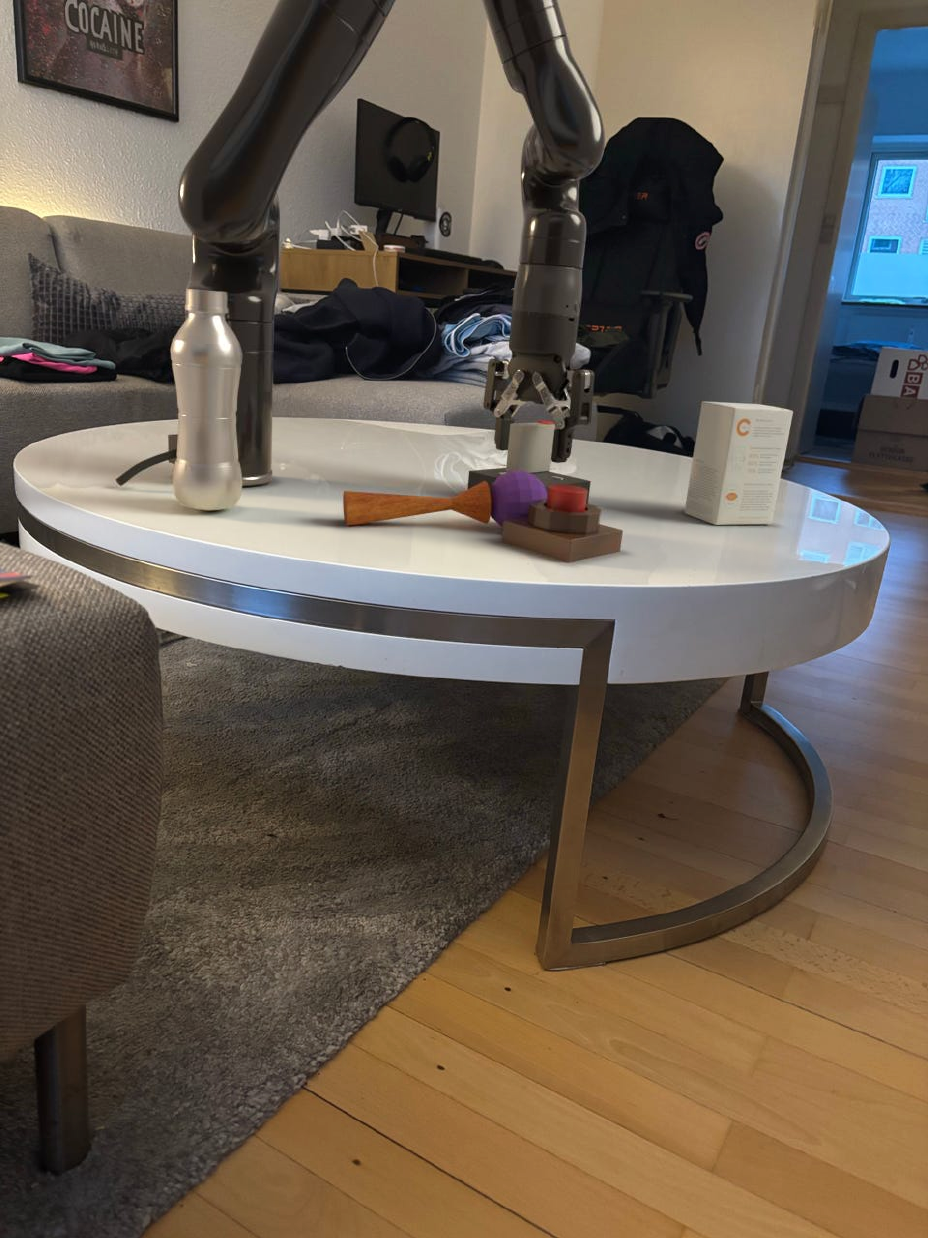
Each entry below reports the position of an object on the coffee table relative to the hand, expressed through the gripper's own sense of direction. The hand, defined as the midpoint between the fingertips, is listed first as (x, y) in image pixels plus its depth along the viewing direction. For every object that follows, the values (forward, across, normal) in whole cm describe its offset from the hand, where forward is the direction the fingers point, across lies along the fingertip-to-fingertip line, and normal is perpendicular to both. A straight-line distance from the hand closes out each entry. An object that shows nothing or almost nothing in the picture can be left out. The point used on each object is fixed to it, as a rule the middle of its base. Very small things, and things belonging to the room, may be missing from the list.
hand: (530, 455), depth 107 cm
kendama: (+5, +7, -21) cm, 22 cm away
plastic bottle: (+5, -9, -37) cm, 39 cm away
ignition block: (+5, +18, -16) cm, 25 cm away
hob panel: (+5, +1, -1) cm, 5 cm away
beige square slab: (+2, 0, 0) cm, 2 cm away
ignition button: (+1, +18, -16) cm, 24 cm away
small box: (+5, +19, +14) cm, 24 cm away
